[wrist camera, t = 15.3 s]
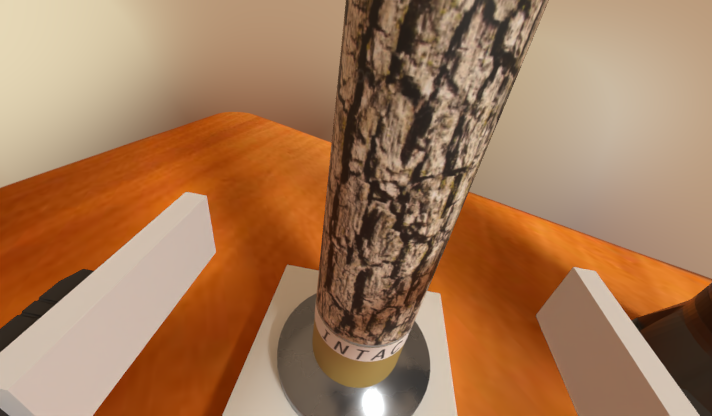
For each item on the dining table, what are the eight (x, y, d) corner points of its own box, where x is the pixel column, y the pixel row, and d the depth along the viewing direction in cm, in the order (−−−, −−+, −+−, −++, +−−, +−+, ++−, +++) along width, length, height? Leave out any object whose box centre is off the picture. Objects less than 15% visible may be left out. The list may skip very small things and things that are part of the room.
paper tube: (310, 311, 26) (344, -87, 12) (386, 308, 27) (500, -52, 13) (312, 397, 21) (382, -148, 6) (407, 388, 22) (641, -77, 8)
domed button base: (436, 302, 32) (443, 287, 30) (461, 514, 19) (476, 503, 17) (286, 274, 32) (287, 257, 31) (208, 462, 19) (202, 448, 18)
